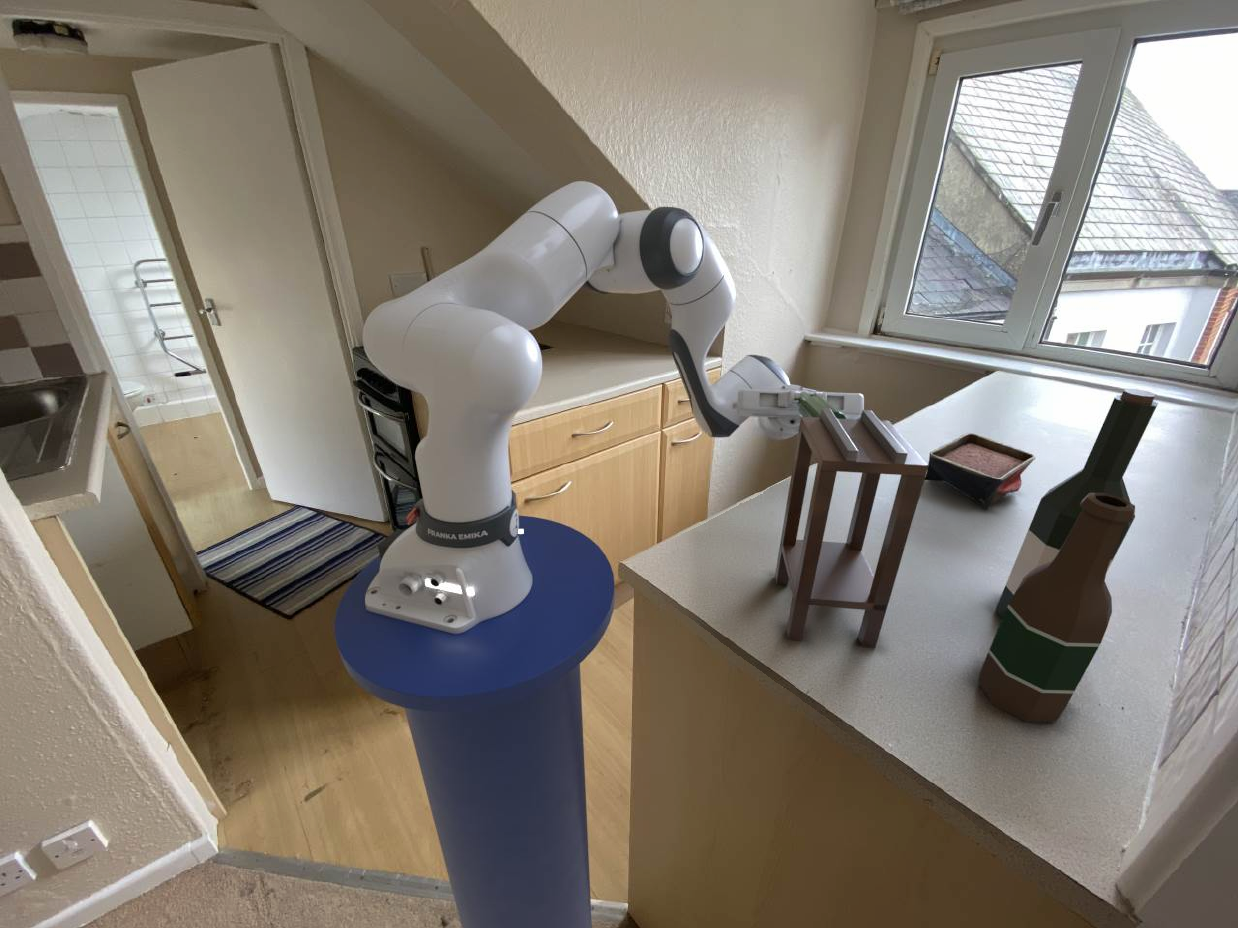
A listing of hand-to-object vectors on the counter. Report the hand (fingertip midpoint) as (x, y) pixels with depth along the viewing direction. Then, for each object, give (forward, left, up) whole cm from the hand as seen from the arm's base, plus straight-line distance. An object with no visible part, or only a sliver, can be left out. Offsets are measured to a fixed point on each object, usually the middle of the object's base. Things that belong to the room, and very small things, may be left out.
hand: (808, 396), depth 81 cm
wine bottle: (+26, -24, -20) cm, 41 cm away
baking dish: (+34, +12, -20) cm, 41 cm away
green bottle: (0, -6, -3) cm, 7 cm away
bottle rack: (0, -25, -20) cm, 32 cm away
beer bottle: (+18, -36, -20) cm, 45 cm away
